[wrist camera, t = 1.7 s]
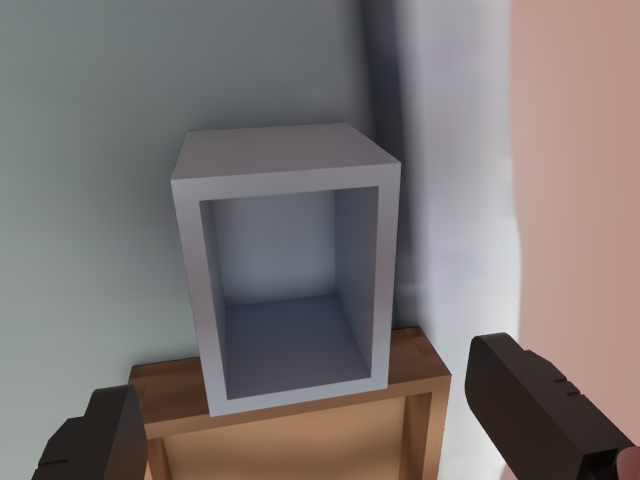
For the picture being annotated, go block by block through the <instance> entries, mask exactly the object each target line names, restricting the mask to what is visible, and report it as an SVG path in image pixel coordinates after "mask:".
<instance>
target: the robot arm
mask: <svg viewBox="0 0 640 480" xmlns="http://www.w3.org/2000/svg"><path fill="white" fill-rule="evenodd" d="M465 395H466V399H467V402H468V405H469V407H470V409H471V411H472V412H473V414H474V415H475V417H476V418H477V420H478V421H479V423H480V424H481V426H482V427H483V429H484V430H485V432H486V433H487V435H488V436H489V437H490V439H491V440H492V442H493V443H494V445H495V446H496V448H497V449H498V451H499V452H500V454H501V455H502V457H503V458H504V460H505V461H506V463H507V464H508V466H509V467H510V468H511V470H512V472H513V473H514V475H515V476H516V478H517V479H518V480H640V447H637V446H636V445H635V444H633V443H632V442H631V441H630V440H629V439H628V438H627V437H626V436H625V435H624V434H623V433H622V432H621V431H620V430H619V429H618V428H617V427H616V426H615V425H614V424H613V423H612V422H611V421H610V420H609V419H608V418H607V417H606V416H605V415H604V414H603V413H602V412H601V411H600V410H599V409H597V407H596V406H595V405H594V404H593V403H592V402H591V401H590V400H589V399H588V398H586V397H585V395H584V394H583V395H581V394H580V391H579V390H578V389H577V388H576V387H575V386H574V385H573V384H572V383H571V382H570V381H567V378H566V377H565V376H564V375H563V374H562V373H561V372H560V371H559V370H558V369H557V368H556V367H555V366H554V365H553V364H552V363H551V362H549V361H547V360H546V359H544V358H542V357H541V356H539V355H537V354H535V353H534V352H532V351H530V350H526V351H524V350H523V349H522V348H521V347H520V346H519V345H518V344H517V343H516V341H515V340H514V339H513V338H512V337H511V336H510V335H508V334H507V333H503V332H502V333H495V334H488V335H481V336H475V337H474V338H473V339H472V341H471V345H470V352H469V359H468V365H467V372H466V379H465ZM147 458H148V444H147V436H146V431H145V427H144V423H143V419H142V414H141V410H140V406H139V402H138V398H137V393H136V390H135V387H134V386H133V385H132V384H130V385H123V386H116V387H109V388H102V389H96V390H95V391H94V392H93V394H92V396H91V399H90V401H89V404H88V407H87V409H86V412H85V415H84V416H82V417H76V418H69V419H67V420H66V421H65V423H64V424H63V425H62V426H61V427H60V428H59V429H58V430H57V431H56V433H55V434H54V435H53V436H52V437H51V438H50V439H49V440H48V442H47V445H46V447H45V449H44V452H43V454H42V456H41V459H40V461H39V463H38V469H36V470H35V472H34V475H33V477H32V479H31V480H144V478H145V472H146V467H147Z"/></svg>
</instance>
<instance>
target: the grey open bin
mask: <svg viewBox="0 0 640 480" xmlns="http://www.w3.org/2000/svg"><path fill="white" fill-rule="evenodd" d="M400 175H401V162H399V161H398V160H397V159H395V158H394V157H393V156H391V155H390V154H389V153H387V152H386V151H385V150H383V149H382V148H381V147H379V146H378V145H377V144H375V143H374V142H373V141H371V140H370V139H369V138H367V137H366V136H365V135H363V134H362V133H361V132H359V131H358V130H357V129H355V128H354V127H353V126H351V125H350V124H349V123H347V122H342V123H325V124H307V125H290V126H273V127H255V128H238V129H221V130H203V131H187V132H186V135H185V138H184V141H183V144H182V147H181V150H180V153H179V156H178V159H177V162H176V165H175V168H174V171H173V174H172V177H171V180H170V181H171V187H172V193H173V199H174V205H175V211H176V217H177V223H178V228H179V234H180V240H181V246H182V252H183V258H184V264H185V270H186V276H187V282H188V288H189V293H190V299H191V305H192V311H193V317H194V323H195V329H196V335H197V341H198V347H199V353H200V359H201V364H202V370H203V376H204V382H205V388H206V394H207V400H208V406H209V412H210V417H215V416H221V415H227V414H233V413H239V412H245V411H251V410H257V409H264V408H270V407H276V406H282V405H288V404H294V403H300V402H306V401H313V400H319V399H325V398H331V397H337V396H343V395H349V394H355V393H362V392H368V391H374V390H380V389H386V388H387V386H388V370H389V353H390V337H391V321H392V305H393V288H394V272H395V256H396V240H397V223H398V207H399V191H400Z"/></svg>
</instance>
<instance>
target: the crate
mask: <svg viewBox="0 0 640 480" xmlns="http://www.w3.org/2000/svg"><path fill="white" fill-rule="evenodd" d="M451 376H452V374H451V373H450V371H449V370H448V368H447V367H446V365H445V364H444V362H443V361H442V359H441V358H440V356H439V355H438V353H437V352H436V350H435V349H434V347H433V346H432V344H431V343H430V341H429V340H428V338H427V337H426V335H425V334H424V332H423V331H422V329H421V328H420V326H419V327H412V328H405V329H398V330H391V337H390V353H389V370H388V386H387V388H386V389H380V390H374V391H368V392H362V393H355V394H349V395H343V396H337V397H331V398H325V399H319V400H313V401H306V402H300V403H294V404H288V405H282V406H276V407H270V408H264V409H257V410H251V411H245V412H239V413H233V414H227V415H221V416H215V417H210V412H209V406H208V400H207V394H206V388H205V382H204V376H203V370H202V364H201V359H200V357H199V358H191V359H184V360H177V361H170V362H163V363H156V364H149V365H142V366H135V367H132V370H131V374H130V377H129V381H128V385H130V384H132V385H133V386H134V387H135V390H136V393H137V398H138V402H139V406H140V410H141V414H142V419H143V423H144V427H145V431H146V436H147V444H148V458H147V467H146V472H145V478H144V480H437V476H438V469H439V462H440V454H441V447H442V440H443V433H444V426H445V419H446V412H447V405H448V398H449V390H450V383H451Z"/></svg>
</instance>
